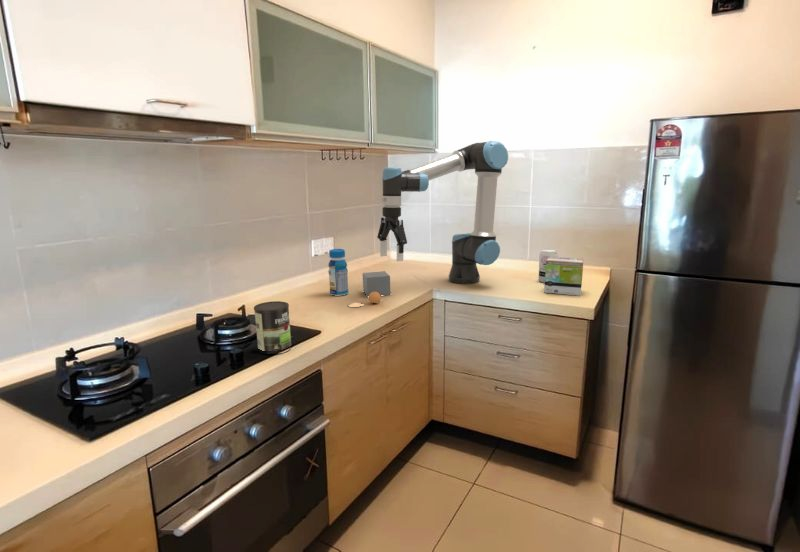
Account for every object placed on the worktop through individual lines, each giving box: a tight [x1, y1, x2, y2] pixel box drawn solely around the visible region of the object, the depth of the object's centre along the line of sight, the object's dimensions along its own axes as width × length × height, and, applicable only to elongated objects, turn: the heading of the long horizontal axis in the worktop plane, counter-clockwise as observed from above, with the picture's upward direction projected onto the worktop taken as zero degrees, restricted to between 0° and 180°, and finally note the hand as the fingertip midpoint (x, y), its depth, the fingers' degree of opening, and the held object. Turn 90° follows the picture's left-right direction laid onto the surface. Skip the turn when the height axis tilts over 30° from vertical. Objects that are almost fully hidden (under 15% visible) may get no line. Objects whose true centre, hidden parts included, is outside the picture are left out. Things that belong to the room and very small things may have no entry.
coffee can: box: [253, 300, 292, 351], centre depth 142 cm, size 10×10×14 cm
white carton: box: [537, 248, 559, 284], centre depth 219 cm, size 8×8×15 cm
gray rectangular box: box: [362, 270, 391, 297], centre depth 205 cm, size 10×10×9 cm
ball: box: [368, 292, 382, 304], centre depth 190 cm, size 5×5×5 cm
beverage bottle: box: [327, 248, 349, 297], centre depth 204 cm, size 8×8×20 cm
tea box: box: [543, 256, 584, 297], centre depth 200 cm, size 15×10×15 cm, turn 68°
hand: (391, 258), depth 191 cm, fingers open, 13 cm apart
